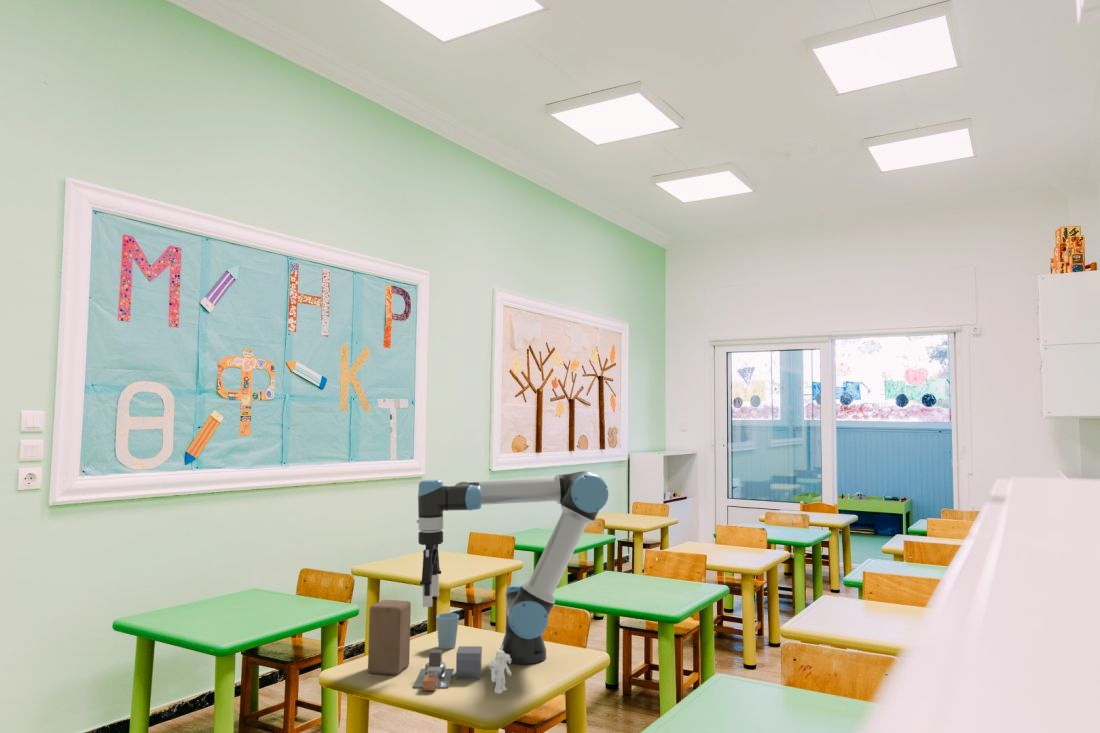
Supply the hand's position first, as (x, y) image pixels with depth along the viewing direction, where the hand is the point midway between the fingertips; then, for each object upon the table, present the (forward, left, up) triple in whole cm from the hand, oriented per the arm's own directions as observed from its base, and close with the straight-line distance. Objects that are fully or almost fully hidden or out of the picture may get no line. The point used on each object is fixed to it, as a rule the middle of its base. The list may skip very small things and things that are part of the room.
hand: (431, 601), depth 225 cm
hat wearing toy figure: (-22, +15, -22) cm, 34 cm away
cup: (-2, -27, -22) cm, 35 cm away
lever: (-2, +6, -21) cm, 22 cm away
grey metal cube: (-12, +2, -21) cm, 25 cm away
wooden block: (+13, -3, -22) cm, 25 cm away
